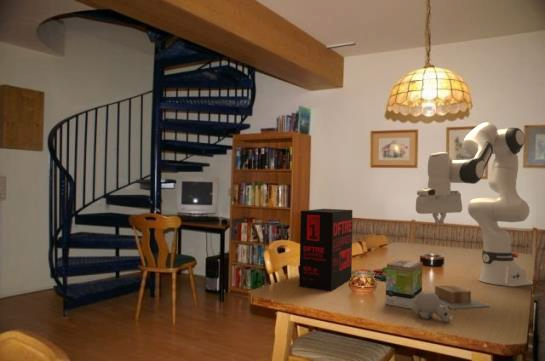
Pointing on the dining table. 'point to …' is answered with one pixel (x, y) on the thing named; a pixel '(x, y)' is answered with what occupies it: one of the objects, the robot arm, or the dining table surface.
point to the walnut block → (453, 294)
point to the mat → (463, 304)
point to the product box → (325, 248)
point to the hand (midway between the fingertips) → (439, 223)
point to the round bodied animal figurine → (431, 306)
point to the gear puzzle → (380, 274)
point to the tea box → (403, 283)
